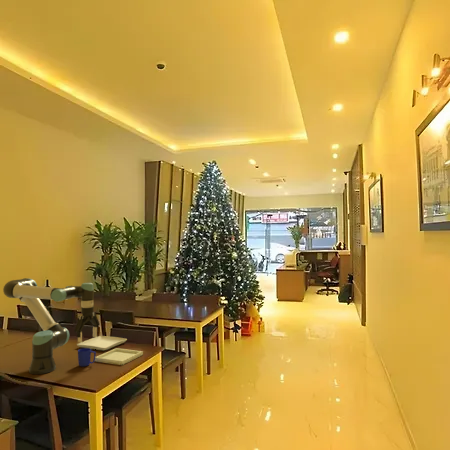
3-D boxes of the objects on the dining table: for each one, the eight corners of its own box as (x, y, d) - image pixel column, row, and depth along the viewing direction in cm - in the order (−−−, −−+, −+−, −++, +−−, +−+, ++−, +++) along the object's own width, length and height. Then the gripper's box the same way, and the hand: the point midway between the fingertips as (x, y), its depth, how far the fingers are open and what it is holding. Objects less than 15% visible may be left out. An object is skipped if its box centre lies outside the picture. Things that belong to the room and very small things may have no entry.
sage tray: (122, 365, 241) (122, 361, 241) (94, 361, 249) (94, 357, 249) (142, 354, 262) (142, 351, 262) (116, 351, 271) (116, 348, 271)
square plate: (75, 349, 279) (75, 343, 279) (100, 339, 305) (100, 335, 305) (104, 352, 269) (104, 347, 269) (127, 343, 295) (127, 338, 295)
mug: (91, 368, 236) (92, 352, 236) (74, 367, 238) (75, 351, 238) (98, 363, 244) (98, 348, 244) (82, 362, 246) (82, 347, 246)
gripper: (77, 310, 229) (77, 345, 228) (104, 303, 253) (104, 335, 252) (68, 309, 232) (68, 344, 231) (96, 303, 255) (96, 334, 254)
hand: (87, 339), depth 241 cm, fingers open, 13 cm apart
